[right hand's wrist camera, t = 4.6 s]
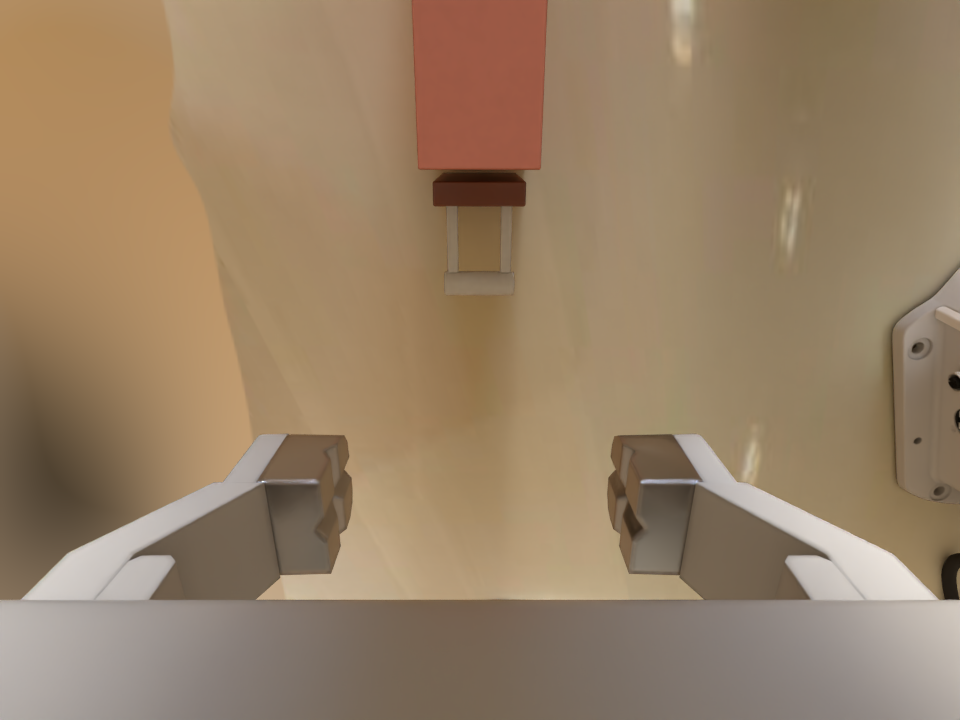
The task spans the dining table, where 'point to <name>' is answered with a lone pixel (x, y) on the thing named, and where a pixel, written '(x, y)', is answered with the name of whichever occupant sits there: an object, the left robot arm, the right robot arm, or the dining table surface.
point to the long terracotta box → (479, 83)
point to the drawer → (479, 193)
